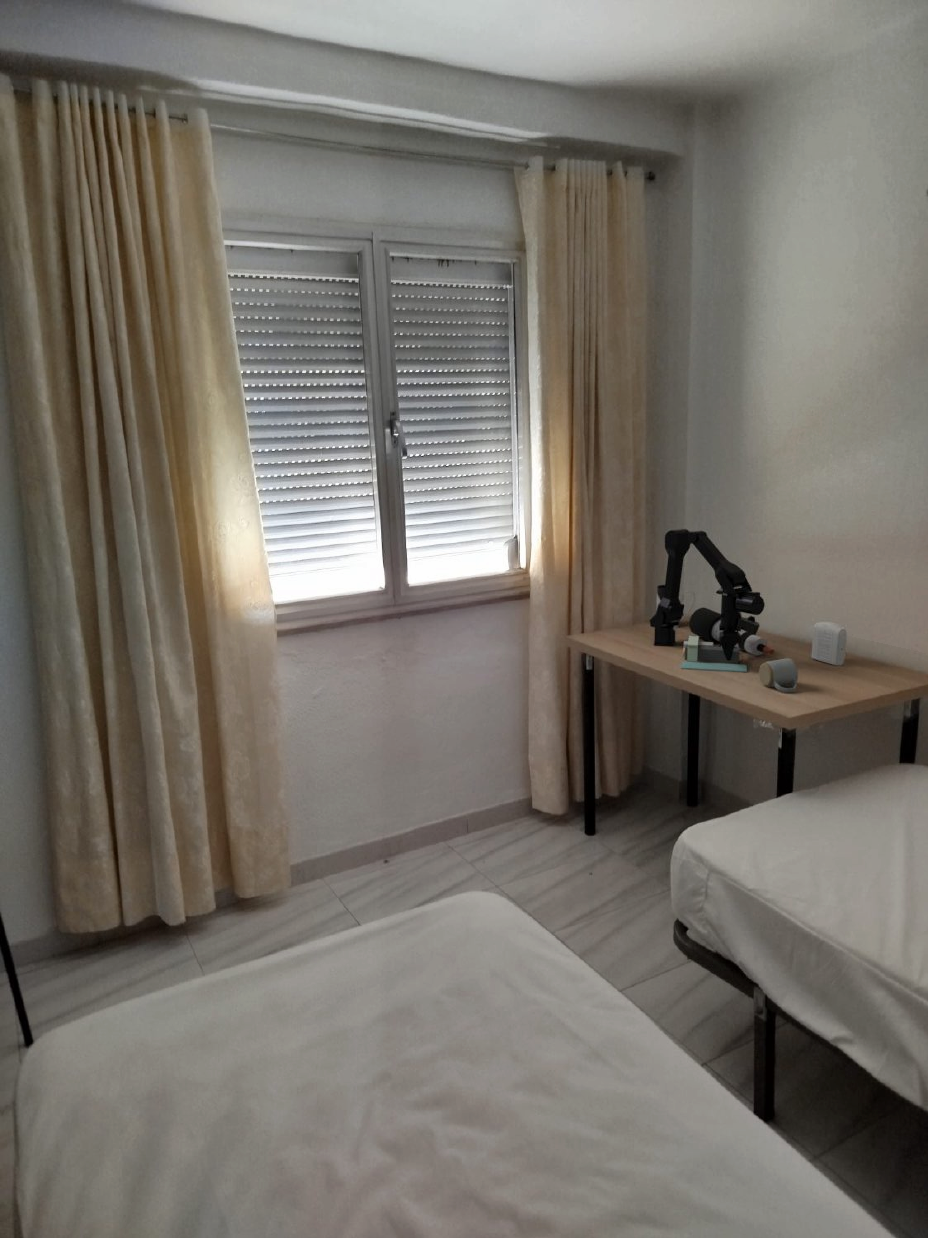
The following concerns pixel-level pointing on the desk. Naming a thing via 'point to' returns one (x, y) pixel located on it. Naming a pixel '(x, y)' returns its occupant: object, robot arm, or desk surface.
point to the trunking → (699, 644)
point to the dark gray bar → (715, 654)
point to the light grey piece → (692, 648)
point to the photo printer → (829, 643)
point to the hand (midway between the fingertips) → (728, 658)
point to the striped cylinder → (708, 628)
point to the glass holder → (661, 593)
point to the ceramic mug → (779, 674)
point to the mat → (714, 666)
